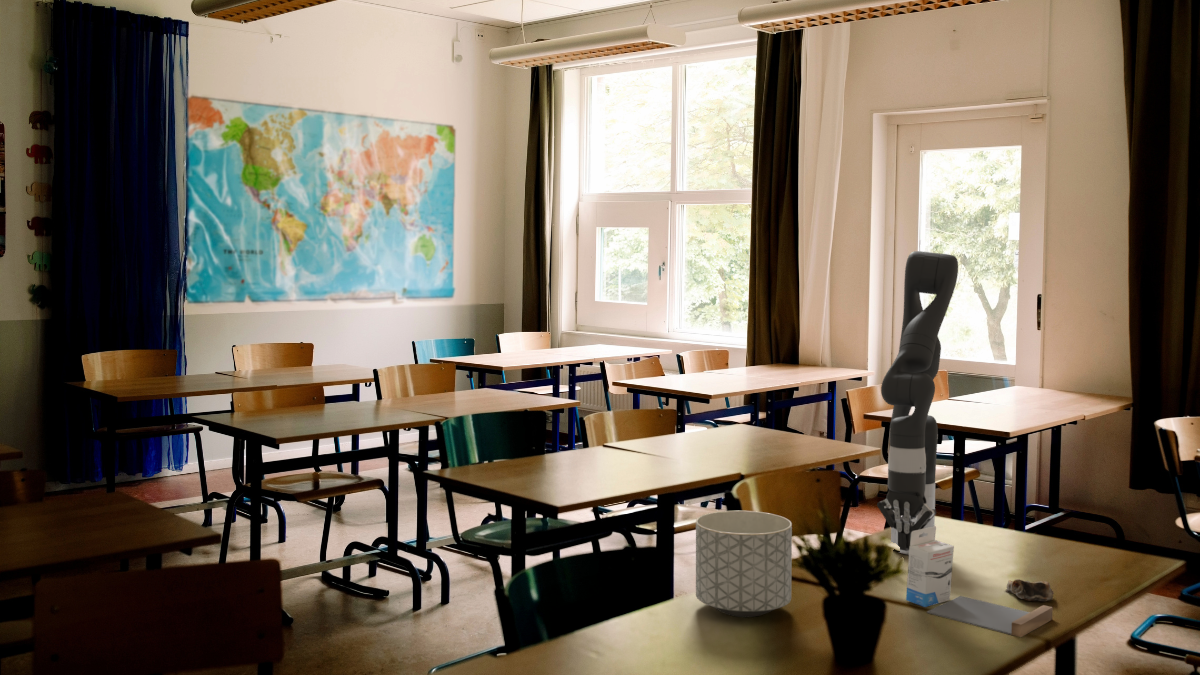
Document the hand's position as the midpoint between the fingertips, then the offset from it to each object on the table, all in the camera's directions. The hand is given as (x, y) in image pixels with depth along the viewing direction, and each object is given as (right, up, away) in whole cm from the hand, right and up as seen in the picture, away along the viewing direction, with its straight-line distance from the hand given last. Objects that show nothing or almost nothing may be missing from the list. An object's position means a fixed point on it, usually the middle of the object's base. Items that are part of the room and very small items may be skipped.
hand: (905, 549), depth 211 cm
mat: (+12, -11, -12) cm, 20 cm away
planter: (-35, -11, -8) cm, 38 cm away
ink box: (+4, -10, -3) cm, 11 cm away
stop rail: (+19, -11, -18) cm, 28 cm away
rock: (+26, -10, 0) cm, 28 cm away
